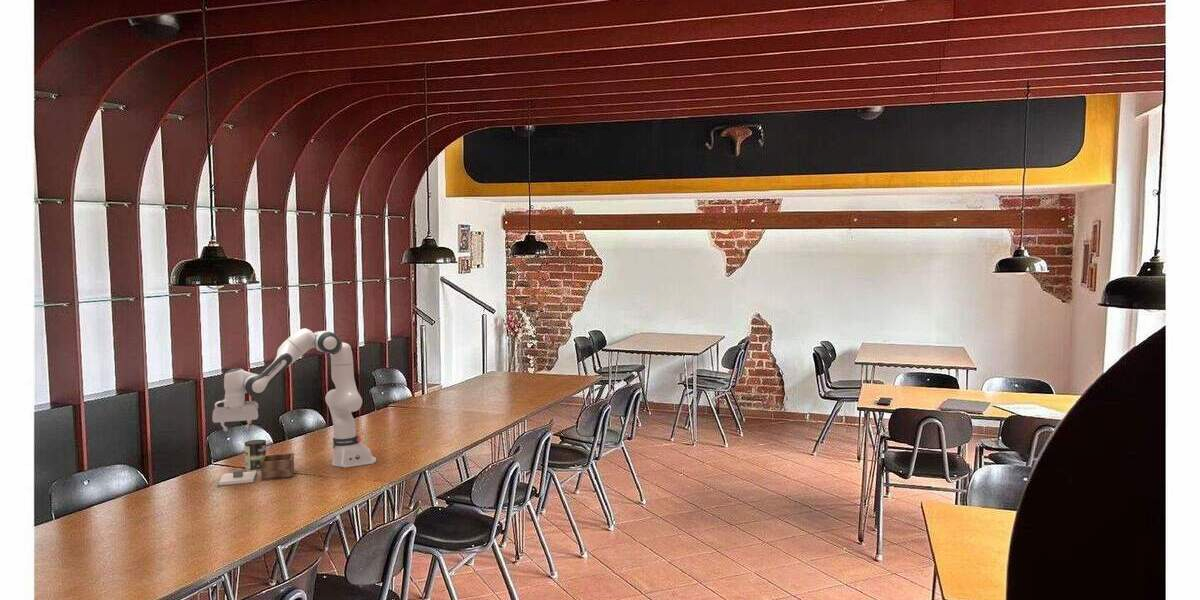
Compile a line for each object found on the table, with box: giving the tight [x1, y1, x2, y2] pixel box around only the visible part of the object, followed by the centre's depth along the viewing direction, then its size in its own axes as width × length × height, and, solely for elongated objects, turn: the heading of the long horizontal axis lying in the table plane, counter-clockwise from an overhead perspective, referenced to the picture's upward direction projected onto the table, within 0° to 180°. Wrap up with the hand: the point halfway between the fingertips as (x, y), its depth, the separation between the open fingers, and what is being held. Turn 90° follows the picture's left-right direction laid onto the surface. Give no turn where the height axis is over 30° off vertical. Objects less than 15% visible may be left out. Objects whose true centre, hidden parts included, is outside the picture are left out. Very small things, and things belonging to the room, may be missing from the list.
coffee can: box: [243, 439, 267, 472], centre depth 399 cm, size 10×10×14 cm
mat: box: [217, 473, 259, 487], centre depth 378 cm, size 16×16×1 cm
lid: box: [218, 468, 258, 485], centre depth 378 cm, size 15×15×4 cm
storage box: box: [260, 452, 295, 481], centre depth 385 cm, size 14×14×9 cm
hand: (236, 430), depth 377 cm, fingers open, 8 cm apart
